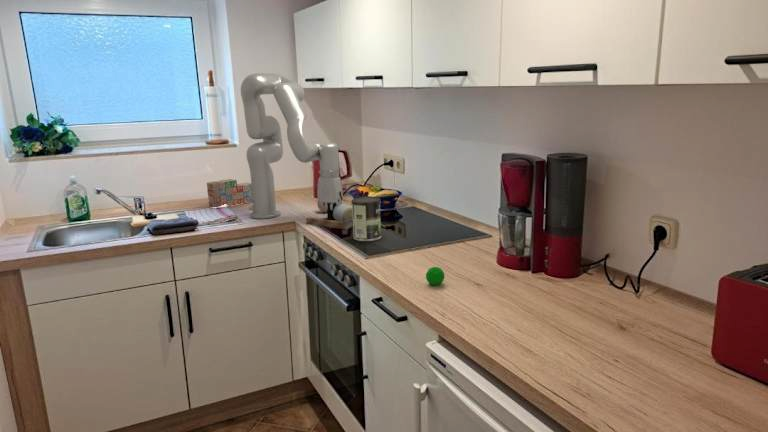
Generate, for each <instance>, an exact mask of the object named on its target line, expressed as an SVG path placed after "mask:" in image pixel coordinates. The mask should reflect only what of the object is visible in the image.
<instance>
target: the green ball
mask: <svg viewBox="0 0 768 432" xmlns="http://www.w3.org/2000/svg"><path fill="white" fill-rule="evenodd" d="M425 279H426V281H427V282H428V284H430V285H432V286H438V285H441V284H442V283H443V281H444V280H445V273H444V270H443V269H442V268H440V267H438V266H433V267H429V268H428V269H427V272H426V274H425Z"/></svg>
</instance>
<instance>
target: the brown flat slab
mask: <svg viewBox="0 0 768 432" xmlns="http://www.w3.org/2000/svg"><path fill="white" fill-rule="evenodd" d="M305 224H307V225H311V226H318V227H325V228H332V229H341V230H349V229H351V228H353V218H352V219H349V220H346V221H343V222H340V221H336V220H333V219H325V218H323V219H322V218H315V217H308V216H307V217H305Z"/></svg>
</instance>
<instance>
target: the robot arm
mask: <svg viewBox="0 0 768 432" xmlns="http://www.w3.org/2000/svg"><path fill="white" fill-rule="evenodd" d="M262 95H273V96H274V99H275V101H276V103H277V105H278V107H279V109H280V111H281V114H282V116H283V117H284V119H285V122H286V124H287V127H286V129H287V130H286V135H287V136H286V137H287V141H288V145H289V147H290V149H291V151H292V153H293V155H294V157H295V158H296V160H298V161H299V162H300V163H304V164H305V163H310V162H315V161H319V170H318V174H320V176H319V177H318V180H317V187H316V188H317V190H316V191H317V192H316V195H317V202H318V201H320V203H321V204H324V206H325V208H326V209H327V213H326V217H327V218H326V220H333V219H334V217H333V210H334V208H335V206H336V205H341V204H342V203H343V200H344V195H343V193H344V192H343V185H342V184H343V183H342V179H341V177H340V168H339V167H340V166H339V164H340V162H339V161H340V160H339V145H338V144H337V143H334V142H322V141H310V142H307V141H306V138H305V137H304V134H303V125H304V122H305V121H306V119H307V117H308V116H307V113H306V111H305V109H304V107H303V104H302V102H303V100H304V98H305V90H304V88H303V86H302V85H301V84H299V83H298V82H296V81H294V80H292V79H289V78H287V77H285V76H282V75H280V74H277V73H268V72H267V73H265V72H257V73H252V74H249V75H247V76H246V77H245V78H243V80H242V83H241V84H240V97H241V101H242V105H243V113H244V121H245V127H246V128H245V129H246V133H247V135H248V137H249V138H250V139H252V140H262V141H260V142H255V143H253V144H251V145H250V146H249V147H248V148H247V150H246V161H247V164H248V167H249V168H248V169H249V173H250V181H251V182H250V183H251V184H252V196H253V202H252V204H251V205H250V206H249V207H248V210H249V211H252V212H251V213H250V214H249V215H250V218H252V219H257V220H263V219H264V220H265V219H274V218H277V217H279V216H280V215H281V211H279V210H277V204H276V203H277V202H276V191H275V190H276V189H275V178H274V173H273V172H274V171H273V169H272V167H271V165H270V164H273V163H277V162H279V161H281V159H282V157H283V155H284V147H283V146H284V145H283V138H282V137H283V136H282V131H281V129H282V128H281V126H280V123H279V121H278V119H276V117H274V116H272V115H266V114H267V113H266V107H265V103H264V101H263V99H262V98H261V96H262ZM334 220H335V219H334Z"/></svg>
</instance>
